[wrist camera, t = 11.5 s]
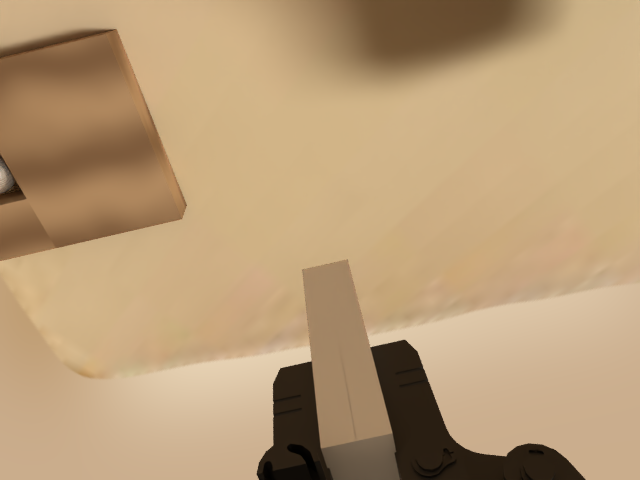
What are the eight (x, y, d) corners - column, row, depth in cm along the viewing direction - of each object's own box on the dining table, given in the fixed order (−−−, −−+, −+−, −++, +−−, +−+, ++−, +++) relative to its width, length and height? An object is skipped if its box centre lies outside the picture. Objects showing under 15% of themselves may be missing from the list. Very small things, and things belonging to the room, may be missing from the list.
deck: (-130, 89, 34) (-157, 97, 31) (116, 29, 33) (105, 34, 31) (-18, 252, 41) (-34, 268, 39) (186, 205, 40) (182, 219, 38)
